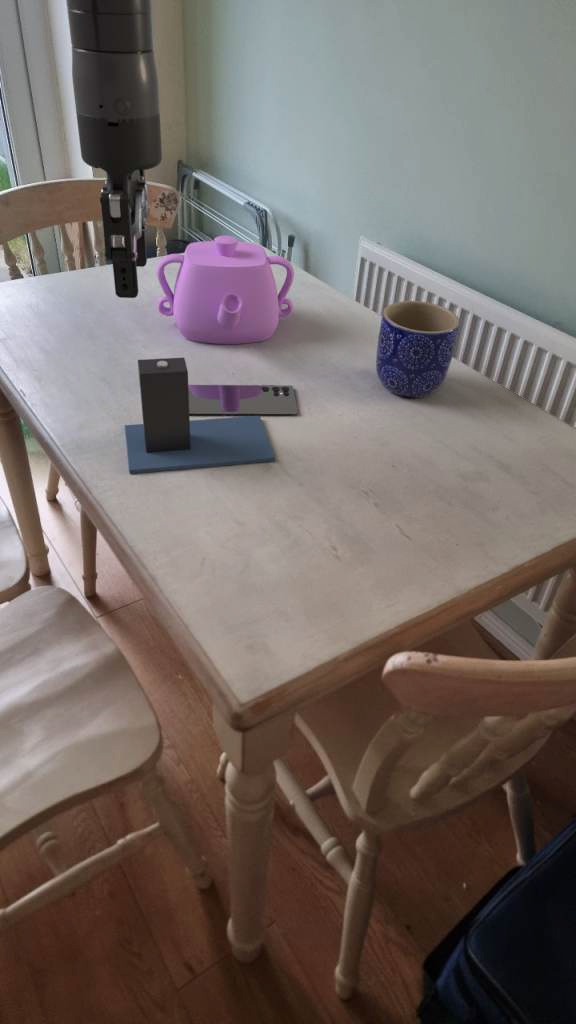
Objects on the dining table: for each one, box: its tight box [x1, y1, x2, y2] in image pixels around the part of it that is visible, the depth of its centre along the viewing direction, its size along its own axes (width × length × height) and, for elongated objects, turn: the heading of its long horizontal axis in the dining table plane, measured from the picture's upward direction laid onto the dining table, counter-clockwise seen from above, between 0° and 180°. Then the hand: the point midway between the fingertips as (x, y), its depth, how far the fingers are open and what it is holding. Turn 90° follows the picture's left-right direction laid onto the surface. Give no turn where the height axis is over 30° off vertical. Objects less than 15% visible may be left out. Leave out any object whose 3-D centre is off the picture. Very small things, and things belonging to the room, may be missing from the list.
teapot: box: [156, 235, 295, 345], centre depth 112 cm, size 19×21×14 cm
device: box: [137, 357, 191, 453], centre depth 84 cm, size 6×4×11 cm, turn 103°
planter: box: [375, 300, 461, 398], centre depth 101 cm, size 11×11×11 cm
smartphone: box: [188, 384, 298, 416], centre depth 98 cm, size 8×1×16 cm
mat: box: [124, 415, 276, 475], centre depth 89 cm, size 18×10×1 cm, turn 103°
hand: (132, 280), depth 74 cm, fingers open, 8 cm apart
